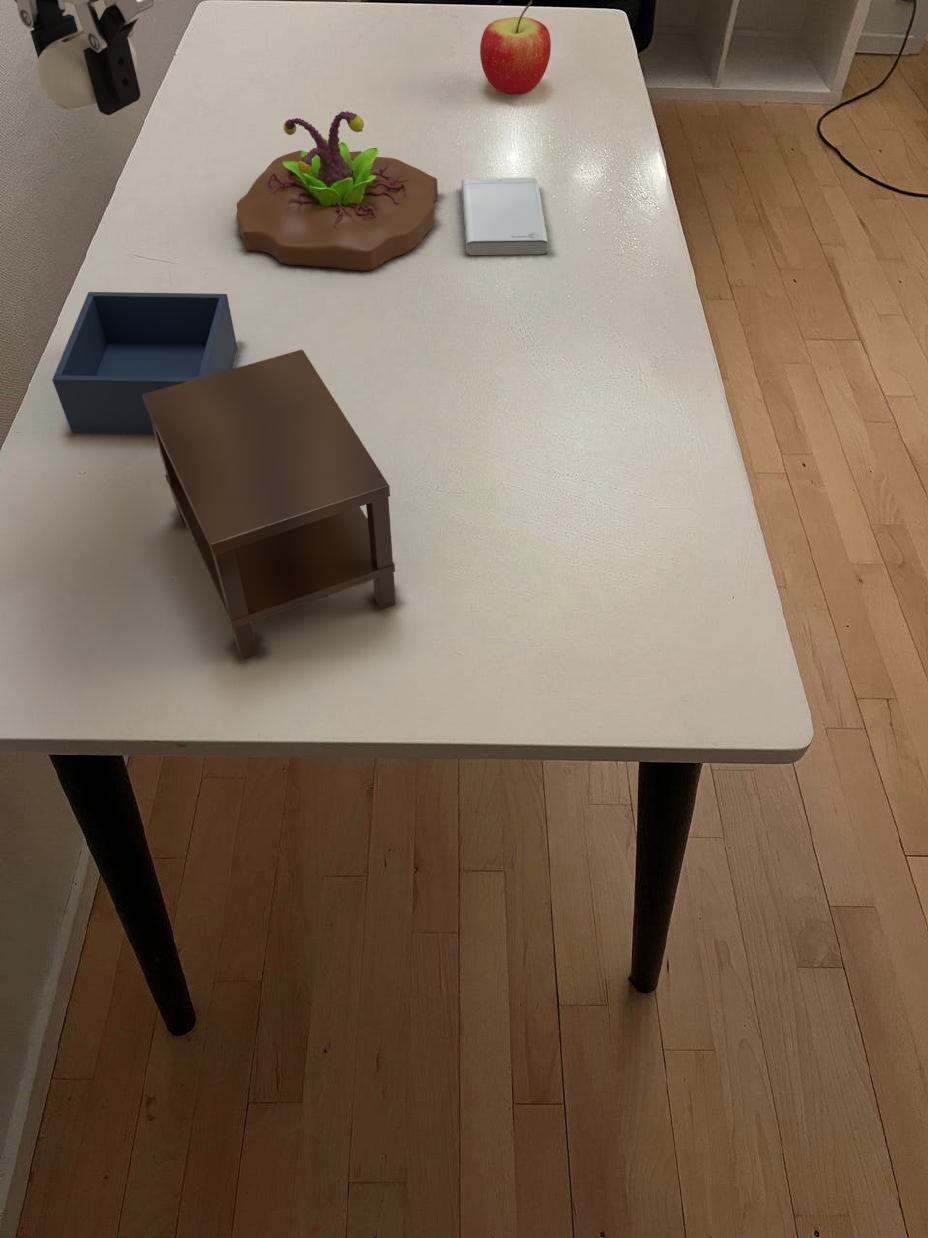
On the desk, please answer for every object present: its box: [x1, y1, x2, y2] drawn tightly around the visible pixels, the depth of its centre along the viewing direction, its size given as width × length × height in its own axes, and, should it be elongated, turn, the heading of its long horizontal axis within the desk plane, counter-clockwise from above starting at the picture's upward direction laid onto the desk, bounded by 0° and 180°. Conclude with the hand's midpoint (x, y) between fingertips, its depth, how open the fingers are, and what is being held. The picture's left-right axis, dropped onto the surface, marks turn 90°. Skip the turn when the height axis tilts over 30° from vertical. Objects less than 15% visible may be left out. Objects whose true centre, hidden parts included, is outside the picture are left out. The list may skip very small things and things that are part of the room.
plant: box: [236, 110, 439, 272], centre depth 107 cm, size 20×20×11 cm
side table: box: [142, 349, 397, 660], centre depth 76 cm, size 12×16×12 cm
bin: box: [51, 291, 238, 435], centre depth 91 cm, size 12×12×6 cm
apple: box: [479, 0, 552, 96], centre depth 126 cm, size 8×8×10 cm
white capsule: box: [36, 28, 138, 111], centre depth 68 cm, size 7×4×4 cm, turn 146°
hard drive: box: [461, 177, 549, 256], centre depth 110 cm, size 2×8×12 cm
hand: (94, 93), depth 70 cm, fingers closed on white capsule, 4 cm apart
